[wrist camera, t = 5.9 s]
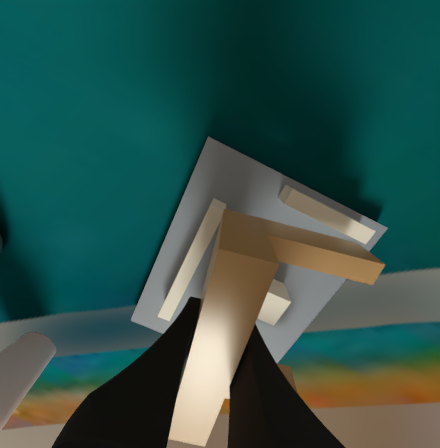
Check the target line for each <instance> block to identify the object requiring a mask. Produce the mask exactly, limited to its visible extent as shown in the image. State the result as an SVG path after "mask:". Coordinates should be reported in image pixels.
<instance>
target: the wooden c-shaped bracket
mask: <svg viewBox="0 0 440 448" xmlns="http://www.w3.org/2000/svg"><path fill="white" fill-rule="evenodd" d="M278 261H279V262H283V263H287V264H291V265H295V266H299V267H303V268H307V269H311V270H315V271H319V272H323V273H327V274H331V275H335V276H339V277H343V278H347V279H351V280H355V281H359V282H363V283H367V284H371V285H373V284H374V282H375V280H376V279H377V277H378V276H379V274H380V273H381V271H382V269H383V268H384V266H385V264H384V263H383V262H381V261H380V260H379V259H377V258H376V257H375V256H374V255H372V254H371V253H370V252H368V251H367V250H366V249H365V248H363V247H362V246H361V245H360V244H358V243H356V242H352V241H348V240H344V239H341V238H337V237H333V236H329V235H325V234H321V233H317V232H313V231H310V230H306V229H302V228H298V227H294V226H290V225H286V224H282V223H279V222H275V221H271V220H267V219H263V218H259V217H255V216H251V215H248V214H244V213H240V212H236V211H232V210H228V209H224V211H223V214H222V218H221V222H220V225H219V229H218V233H217V237H216V240H215V244H214V248H213V251H212V255H211V259H210V263H209V266H208V270H207V274H206V278H205V281H204V285H203V289H202V292H201V296H200V299H201V303H200V308H199V313H198V317H197V320H196V324H195V328H194V331H193V335H192V339H191V342H190V346H189V350H188V353H187V356H186V359H185V362H184V366H183V370H182V375H181V379H180V384H179V389H178V394H177V399H176V403H175V408H174V413H173V418H172V423H171V428H170V433H169V437H168V439H171V440H176V441H181V442H185V443H190V444H194V445H199V446H203V447H205V445H206V442H207V440H208V438H209V435H210V433H211V430H212V428H213V425H214V423H215V420H216V418H217V416H218V413H219V411H220V408H221V406H222V403H223V401H224V398H227V399H230V392H229V386H230V384H231V381H232V379H233V376H234V374H235V371H236V369H237V367H238V364H239V362H240V359H241V357H242V354H243V352H244V349H245V347H246V344H247V342H248V340H249V337H250V335H251V332H252V330H253V327H254V325H255V322H256V320H257V318H258V315H259V313H260V310H261V308H262V305H263V303H264V300H265V298H266V296H267V293H268V291H269V288H270V286H271V283H272V281H273V278H274V276H275V273H276V271H277V269H278V266H279V262H278ZM277 365H278V367H279V368H280V370H281V371H282V373H283V374H284V376H285V377H286V379H287V380H288V382H289V383H290V384H291V386H292V387H293V388H294V390H295V391H296V392H297V390H296V386H295V383H294V379H293V375H292V371H291V367H289V366H285V365H281V364H277Z"/></svg>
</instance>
